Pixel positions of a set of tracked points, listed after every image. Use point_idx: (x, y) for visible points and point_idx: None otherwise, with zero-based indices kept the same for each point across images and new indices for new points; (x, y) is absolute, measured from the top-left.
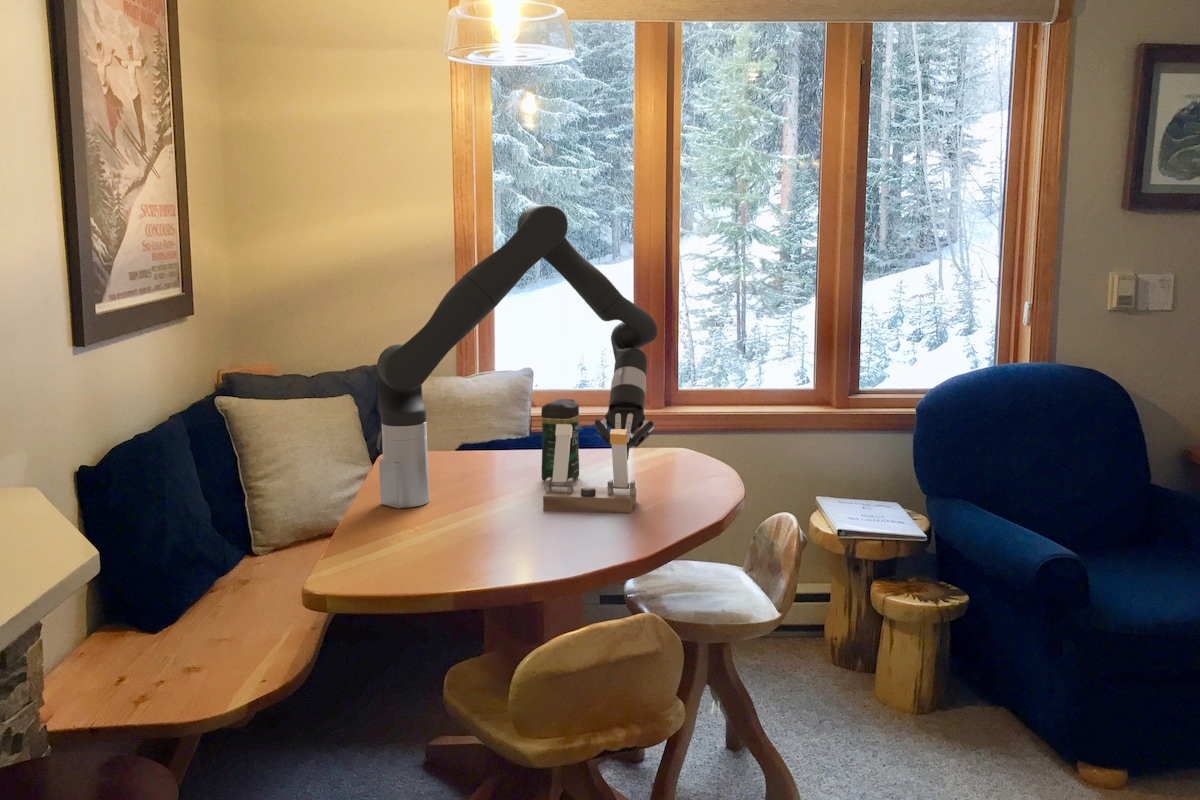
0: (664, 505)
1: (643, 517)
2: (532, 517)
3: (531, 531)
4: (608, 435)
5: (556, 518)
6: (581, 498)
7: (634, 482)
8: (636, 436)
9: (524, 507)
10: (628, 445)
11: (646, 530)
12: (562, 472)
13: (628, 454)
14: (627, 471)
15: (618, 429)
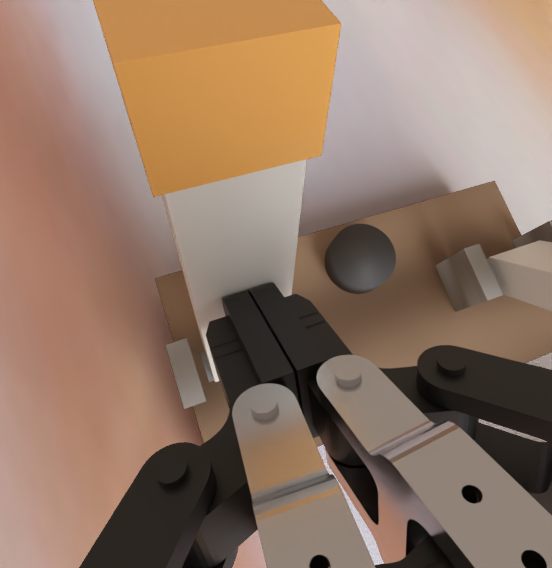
0: (69, 482)
1: (91, 262)
2: (441, 124)
3: (357, 5)
4: (484, 379)
5: (371, 139)
6: (358, 221)
7: (175, 378)
8: (160, 507)
9: (536, 214)
10: (231, 403)
11: (20, 117)
12: (543, 260)
13: (223, 391)
14: (200, 331)
15: (237, 37)
